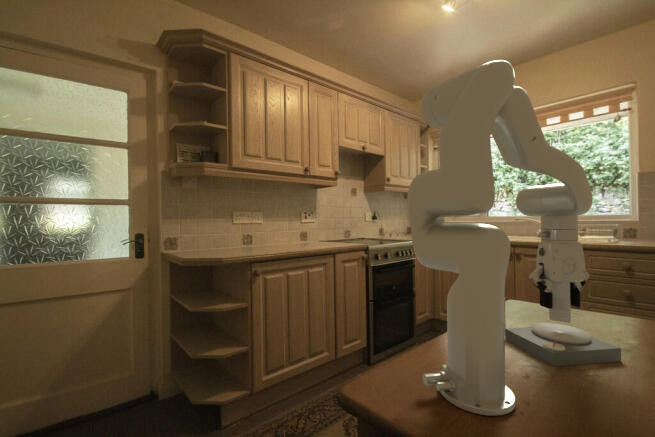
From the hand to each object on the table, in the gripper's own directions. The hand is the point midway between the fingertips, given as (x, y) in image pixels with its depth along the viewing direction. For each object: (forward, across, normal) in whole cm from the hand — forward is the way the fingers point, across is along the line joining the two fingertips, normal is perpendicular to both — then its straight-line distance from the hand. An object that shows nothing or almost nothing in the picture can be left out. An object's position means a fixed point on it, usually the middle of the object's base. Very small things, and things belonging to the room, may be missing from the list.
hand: (559, 305), depth 77 cm
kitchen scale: (+10, -2, -2) cm, 11 cm away
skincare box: (+3, 0, 0) cm, 3 cm away
